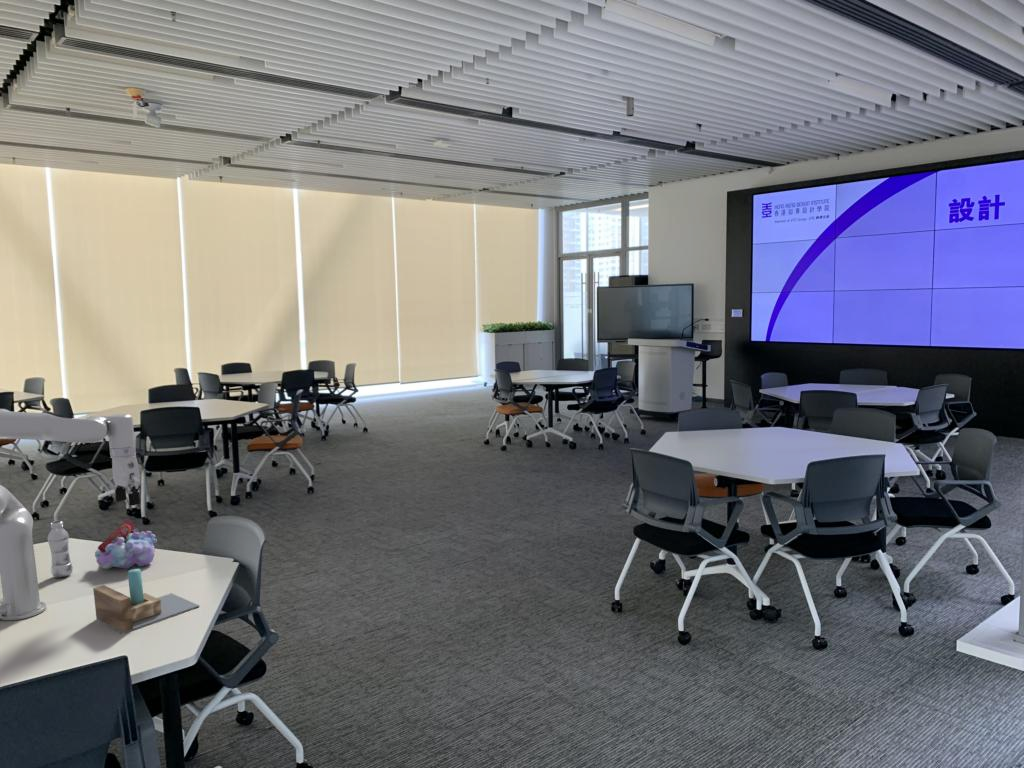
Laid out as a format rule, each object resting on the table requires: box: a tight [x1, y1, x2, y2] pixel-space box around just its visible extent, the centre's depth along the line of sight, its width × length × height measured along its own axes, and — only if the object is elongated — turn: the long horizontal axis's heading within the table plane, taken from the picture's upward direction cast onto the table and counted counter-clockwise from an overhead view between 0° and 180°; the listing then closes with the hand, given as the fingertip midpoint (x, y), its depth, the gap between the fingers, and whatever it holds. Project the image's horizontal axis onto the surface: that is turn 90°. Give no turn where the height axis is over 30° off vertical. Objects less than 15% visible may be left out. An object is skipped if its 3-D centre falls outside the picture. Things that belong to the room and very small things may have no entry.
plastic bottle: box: [47, 520, 74, 578], centre depth 272 cm, size 6×7×20 cm
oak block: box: [130, 592, 162, 622], centre depth 233 cm, size 10×10×4 cm
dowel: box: [127, 568, 144, 606], centre depth 233 cm, size 4×4×14 cm
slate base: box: [95, 593, 200, 635], centre depth 236 cm, size 24×18×1 cm
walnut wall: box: [92, 584, 133, 632], centre depth 228 cm, size 3×18×10 cm, turn 51°
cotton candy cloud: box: [94, 518, 158, 570], centre depth 282 cm, size 20×22×18 cm
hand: (128, 502), depth 253 cm, fingers open, 9 cm apart
